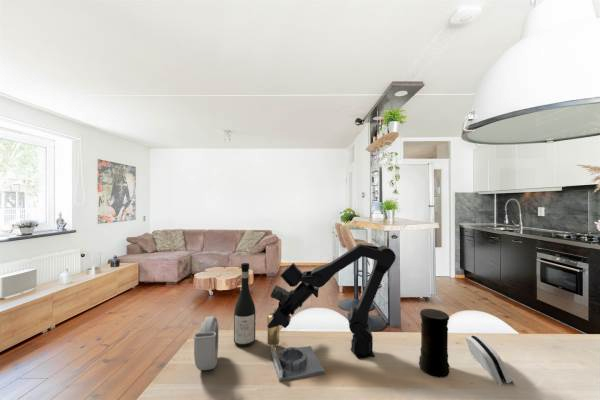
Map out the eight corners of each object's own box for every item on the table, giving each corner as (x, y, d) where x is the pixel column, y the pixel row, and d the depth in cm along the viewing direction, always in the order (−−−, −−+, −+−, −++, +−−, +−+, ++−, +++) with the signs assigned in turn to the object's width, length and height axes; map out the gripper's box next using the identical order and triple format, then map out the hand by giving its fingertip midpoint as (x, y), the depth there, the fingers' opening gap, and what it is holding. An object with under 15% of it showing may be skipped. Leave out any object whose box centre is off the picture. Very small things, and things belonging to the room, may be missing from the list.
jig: (310, 348, 100) (310, 339, 100) (324, 373, 85) (324, 362, 85) (271, 354, 96) (271, 344, 96) (279, 381, 82) (279, 370, 82)
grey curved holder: (202, 352, 97) (203, 310, 97) (221, 351, 98) (222, 309, 98) (192, 384, 80) (192, 333, 80) (215, 382, 81) (215, 331, 81)
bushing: (278, 338, 104) (278, 311, 104) (280, 344, 99) (280, 316, 99) (266, 340, 102) (266, 313, 103) (268, 346, 98) (268, 318, 98)
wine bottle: (255, 347, 101) (255, 265, 101) (233, 348, 100) (233, 266, 100) (255, 336, 109) (255, 260, 109) (234, 337, 108) (235, 261, 108)
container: (424, 357, 95) (425, 305, 95) (453, 369, 88) (453, 313, 88) (414, 368, 88) (414, 313, 88) (444, 382, 82) (444, 322, 82)
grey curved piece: (517, 386, 80) (504, 353, 81) (500, 390, 81) (488, 357, 81) (485, 354, 97) (475, 327, 97) (472, 358, 97) (462, 331, 98)
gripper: (288, 272, 110) (261, 299, 111) (278, 287, 91) (246, 319, 93) (307, 293, 109) (280, 319, 110) (302, 312, 90) (269, 343, 92)
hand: (269, 324), depth 101 cm, fingers closed on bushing, 4 cm apart
